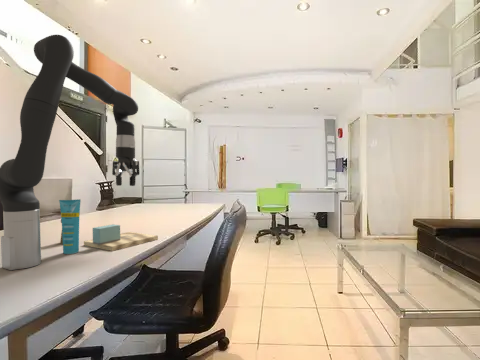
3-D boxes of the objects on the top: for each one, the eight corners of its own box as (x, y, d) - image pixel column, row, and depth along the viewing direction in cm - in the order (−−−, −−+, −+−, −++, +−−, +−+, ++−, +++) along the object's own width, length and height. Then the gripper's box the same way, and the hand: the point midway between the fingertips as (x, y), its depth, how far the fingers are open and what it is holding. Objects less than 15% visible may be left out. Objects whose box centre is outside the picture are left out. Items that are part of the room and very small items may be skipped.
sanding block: (99, 244, 114) (99, 228, 114) (92, 243, 116) (92, 227, 116) (120, 240, 121) (120, 225, 121) (113, 238, 124) (113, 224, 124)
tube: (57, 254, 106) (55, 200, 106) (63, 251, 111) (62, 199, 110) (79, 253, 107) (78, 199, 107) (84, 250, 112) (83, 198, 111)
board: (112, 250, 111) (112, 246, 111) (83, 245, 120) (83, 241, 120) (157, 239, 129) (157, 235, 129) (130, 235, 139) (129, 231, 139)
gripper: (106, 147, 127) (106, 185, 127) (129, 145, 119) (129, 186, 119) (122, 148, 133) (122, 185, 133) (144, 146, 126) (144, 185, 126)
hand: (125, 185), depth 126 cm, fingers open, 8 cm apart
